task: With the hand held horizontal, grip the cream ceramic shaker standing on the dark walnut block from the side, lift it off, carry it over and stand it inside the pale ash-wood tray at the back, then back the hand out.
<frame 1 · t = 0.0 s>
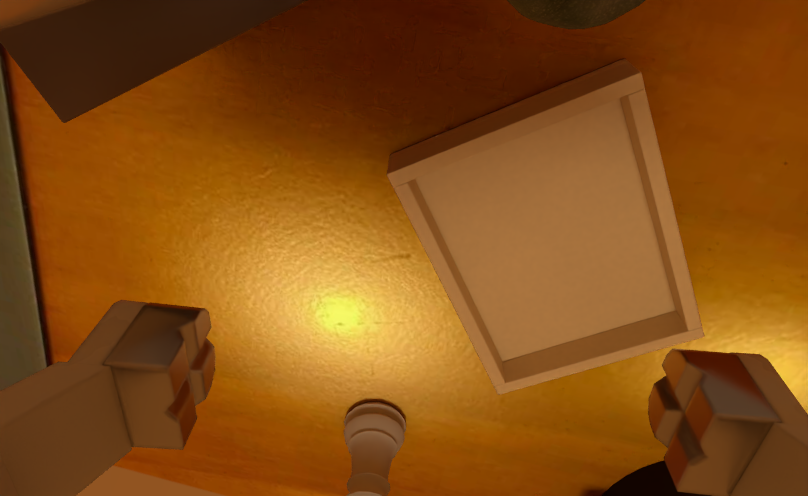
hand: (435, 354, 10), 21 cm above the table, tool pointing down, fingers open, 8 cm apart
tray: (549, 237, 33), on the table
rook chess piece: (375, 418, 42), on the table
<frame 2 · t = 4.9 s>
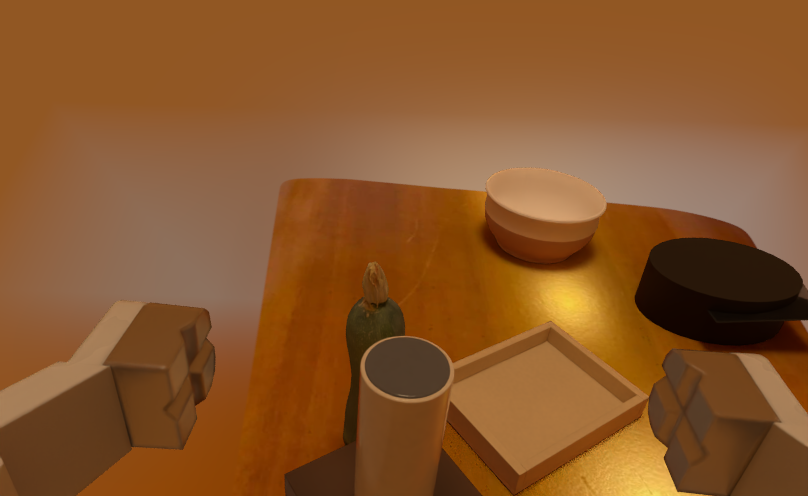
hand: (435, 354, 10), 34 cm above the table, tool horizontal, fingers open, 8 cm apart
vegetable: (367, 453, 49), on the table
tray: (532, 405, 55), on the table
bowl: (533, 243, 81), on the table
black flat-topped cap: (708, 313, 70), on the table
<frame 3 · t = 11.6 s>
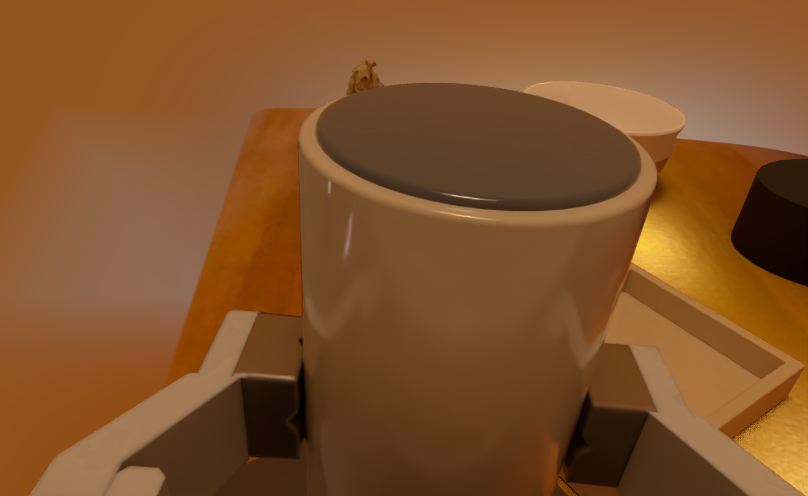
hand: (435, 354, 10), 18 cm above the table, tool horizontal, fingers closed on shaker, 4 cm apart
vegetable: (359, 456, 30), on the table
tray: (617, 380, 35), on the table
bowl: (582, 178, 62), on the table
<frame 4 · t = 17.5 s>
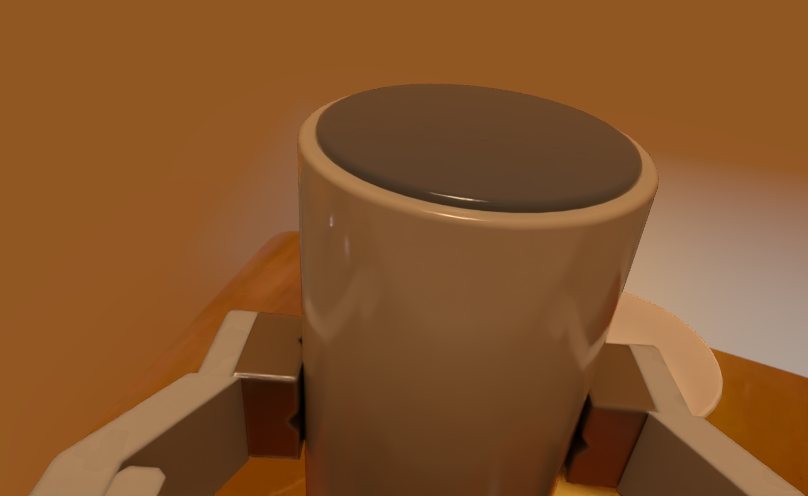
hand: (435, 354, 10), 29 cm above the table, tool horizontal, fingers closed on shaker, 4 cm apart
bowl: (583, 418, 48), on the table
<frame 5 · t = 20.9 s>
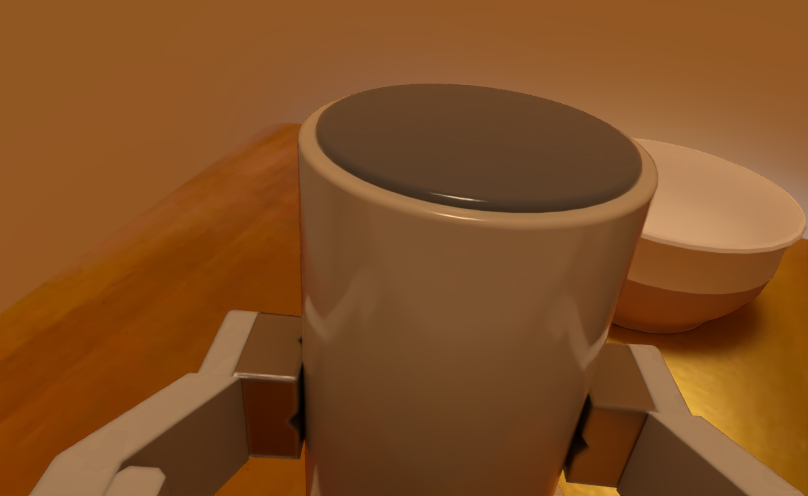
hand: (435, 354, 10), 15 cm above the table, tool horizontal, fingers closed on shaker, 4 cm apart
bowl: (628, 285, 41), on the table
when the fingers open (6 cm above the table, at t = 23.8 s): shaker stays where it is, resting on tray.
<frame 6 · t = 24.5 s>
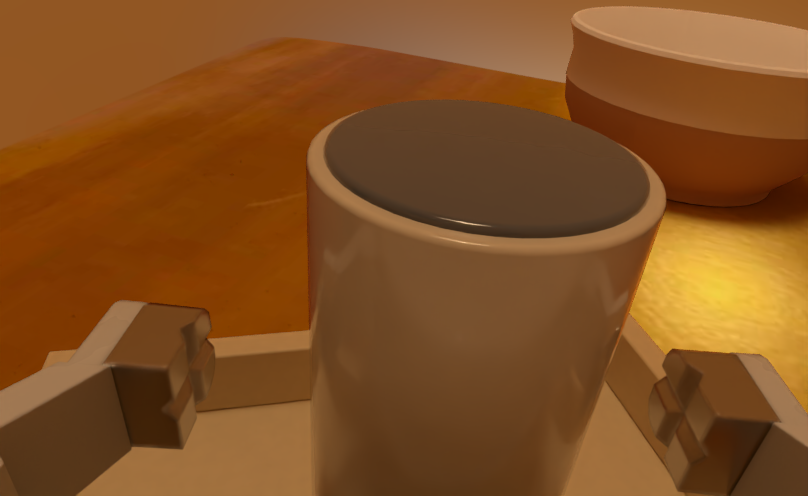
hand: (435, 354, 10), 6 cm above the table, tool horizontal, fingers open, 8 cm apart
bowl: (672, 168, 36), on the table
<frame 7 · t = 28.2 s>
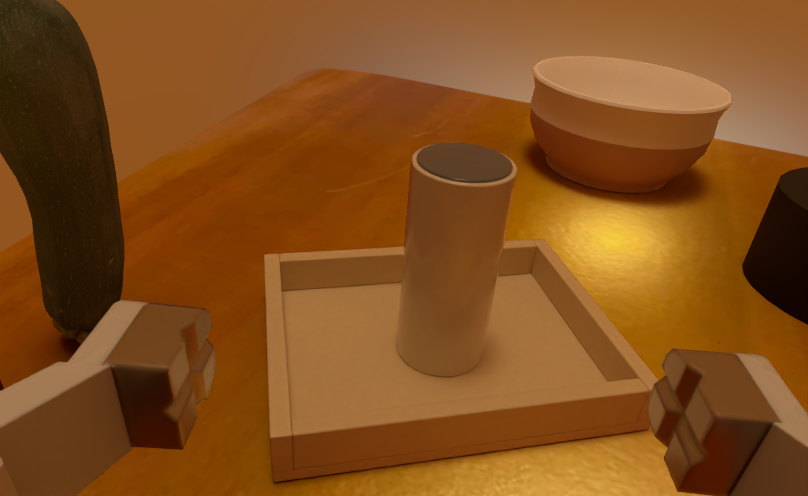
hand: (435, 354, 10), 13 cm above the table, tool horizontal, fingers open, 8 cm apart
shaker: (439, 346, 29), point 1 cm above the table, touching tray
vegetable: (103, 342, 29), on the table
tray: (435, 353, 29), on the table
bowl: (604, 168, 53), on the table
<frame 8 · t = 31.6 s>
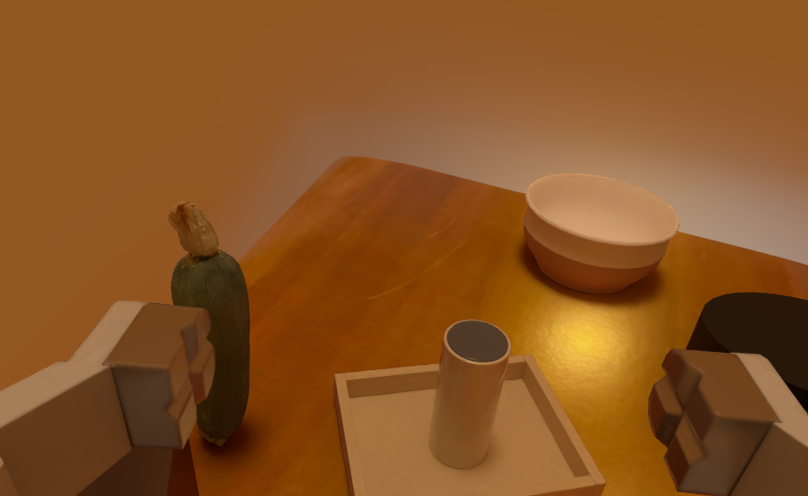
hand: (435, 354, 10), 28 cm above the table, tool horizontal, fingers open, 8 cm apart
shaker: (458, 443, 43), point 1 cm above the table, touching tray
vegetable: (229, 441, 42), on the table
tray: (455, 447, 43), on the table
bowl: (582, 267, 66), on the table
black flat-topped cap: (786, 403, 50), on the table
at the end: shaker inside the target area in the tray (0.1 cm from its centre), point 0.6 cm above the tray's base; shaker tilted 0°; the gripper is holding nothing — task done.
